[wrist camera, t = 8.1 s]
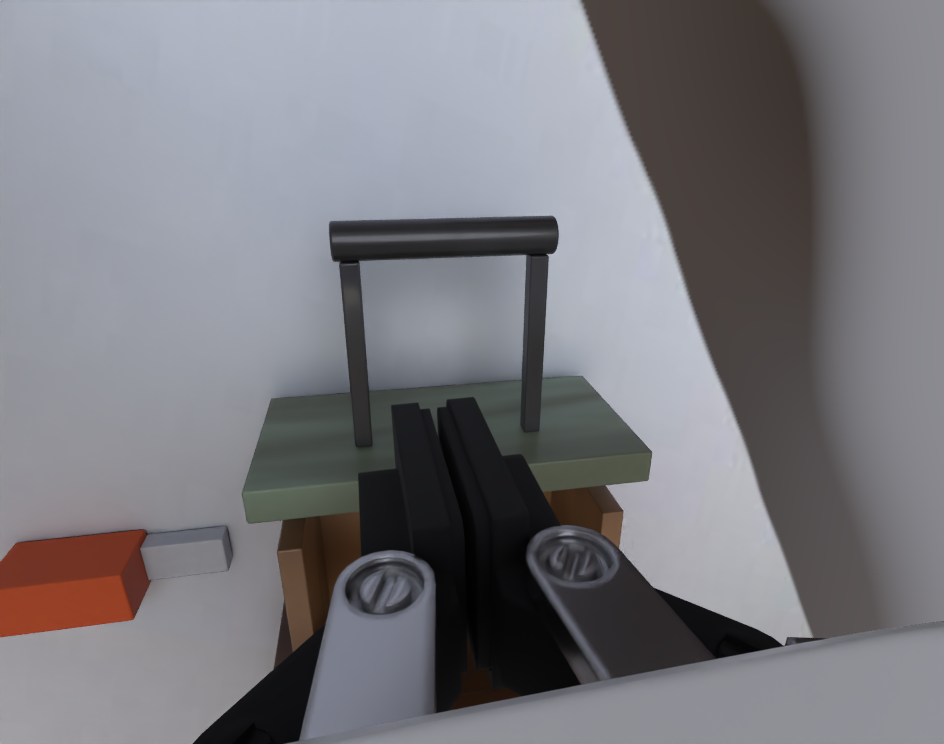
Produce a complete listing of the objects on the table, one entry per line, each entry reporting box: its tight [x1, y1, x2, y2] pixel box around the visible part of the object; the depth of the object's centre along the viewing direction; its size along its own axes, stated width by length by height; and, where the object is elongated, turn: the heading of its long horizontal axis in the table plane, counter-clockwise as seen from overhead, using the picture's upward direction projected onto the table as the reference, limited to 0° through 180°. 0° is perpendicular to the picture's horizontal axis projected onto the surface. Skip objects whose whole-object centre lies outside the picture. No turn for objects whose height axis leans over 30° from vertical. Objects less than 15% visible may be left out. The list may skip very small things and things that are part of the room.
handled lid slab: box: [242, 216, 652, 694], centre depth 23 cm, size 21×13×7 cm, turn 0°
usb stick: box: [0, 526, 232, 637], centre depth 25 cm, size 9×2×3 cm, turn 89°
